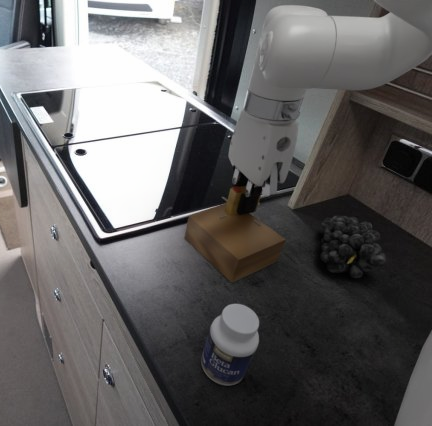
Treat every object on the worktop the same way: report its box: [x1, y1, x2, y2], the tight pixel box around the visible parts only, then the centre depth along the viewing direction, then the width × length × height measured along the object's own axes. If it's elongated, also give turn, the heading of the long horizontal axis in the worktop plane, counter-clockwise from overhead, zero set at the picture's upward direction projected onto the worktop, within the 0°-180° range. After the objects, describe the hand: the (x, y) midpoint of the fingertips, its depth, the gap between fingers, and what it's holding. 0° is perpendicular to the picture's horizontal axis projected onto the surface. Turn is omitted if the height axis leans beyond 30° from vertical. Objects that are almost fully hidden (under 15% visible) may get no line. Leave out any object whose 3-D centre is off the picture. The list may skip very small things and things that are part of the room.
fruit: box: [319, 215, 387, 279], centre depth 61 cm, size 9×8×15 cm
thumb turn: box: [225, 185, 262, 215], centre depth 63 cm, size 5×2×5 cm, turn 104°
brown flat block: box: [183, 196, 286, 284], centre depth 64 cm, size 14×14×5 cm
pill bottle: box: [200, 303, 260, 387], centre depth 44 cm, size 5×5×10 cm
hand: (241, 207), depth 64 cm, fingers closed on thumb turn, 2 cm apart
